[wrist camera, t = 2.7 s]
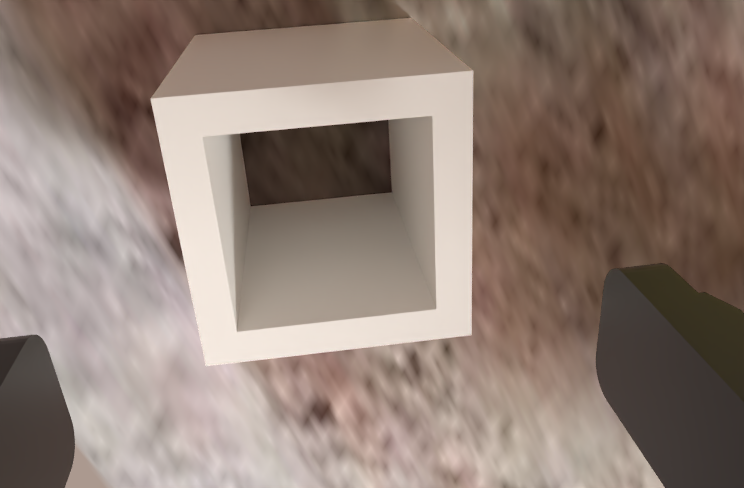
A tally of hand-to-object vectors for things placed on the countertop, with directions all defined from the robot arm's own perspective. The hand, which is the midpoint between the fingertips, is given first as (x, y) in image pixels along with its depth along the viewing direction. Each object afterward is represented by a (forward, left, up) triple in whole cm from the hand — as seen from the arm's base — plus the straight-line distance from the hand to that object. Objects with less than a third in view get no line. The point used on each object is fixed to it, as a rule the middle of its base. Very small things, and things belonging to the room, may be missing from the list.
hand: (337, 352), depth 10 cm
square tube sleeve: (0, 0, -12) cm, 12 cm away
